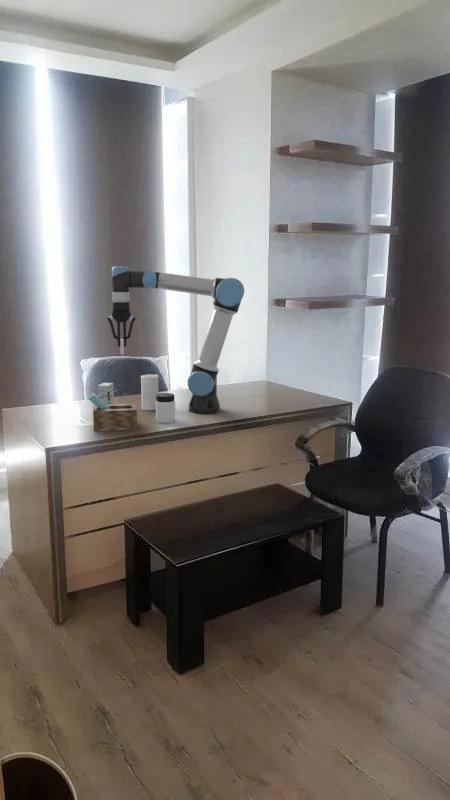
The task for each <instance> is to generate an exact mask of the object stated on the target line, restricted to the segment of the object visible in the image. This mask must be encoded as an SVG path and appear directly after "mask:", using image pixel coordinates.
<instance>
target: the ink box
mask: <svg viewBox="0 0 450 800" xmlns="http://www.w3.org/2000/svg"><path fill="white" fill-rule="evenodd" d="M97 391H98V392H97V393H98V394H97V396H98V397H99V398H100V399H101V400H102V401H103V402H104V403H105V404H106V405H108V404H115V397H114V396H115V395H114V393H115V391H114V383H113V382H102V383H100V384H98V385H97Z"/></svg>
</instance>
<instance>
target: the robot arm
mask: <svg viewBox="0 0 450 800" xmlns="http://www.w3.org/2000/svg"><path fill="white" fill-rule="evenodd" d="M111 288H112V290H111V291H112V292H111V295H112V296H111V297H112V298H111V299H112V301H113V302H112V312H111V315H110V316H108V317H106V319H107V321H108V323H109V326H110V328H111V329H110V330H111V333H112V336H113V337H112V338H114V339H116V340H117V347H118V348H119V350H120V355H124V354H125V347H127V340H128V339H130V338H131V334H132V330H133V326H134V322H135V321H136V317H135V316H133V315H132V314H131V311H130V306H131V305H130V304H131V303H130V302H129V301H130V289H147V290H148V289H149V290H150V289H156V290H157V289H158V290H166V291H172V292H178V293H186V294H193V295H200V296H205V297H206V296H208V297H212V300H213V301H212V307H213V309H214V310H213V313H212V316H211V319H210V323H209V324H208V326H209V327H208V329H207V332H206V335H205V339H204V342H203V345H202V348H201V351H200V354H199V357H198V359H197V360H196V361H194V362H193V364H192V367H191V372H190V375H189V376H188V379H187V387H188V389H189V392H191V393H192V395H191V398H190V400H189V404H188V411H189V412H192V413H196V414H213V413H218V412H220V411H221V404H220V400H219V398H218V393H217V392H218V391H217V390H218V389H217V388H218V387H217V386H218V383H217V382H218V380H217V379H218V375H219V368H218V363H219V360H220V357H221V354H222V350H223V348H224V344H225V340H226V338H227V334H228V331H229V329H230V325H231V322H232V319H233V317H234V315H235V314H237V313H238V312H239V309H240V305H241V302H242V299H243V298H244V295H245V287H244V284H243V283H242V281H240V280H239V279H237V278H236V277H235V278H234V277H227V278H221V277H215V278H214V279H212V278H204V277H195V276H187V275H182V274H175V273H174V274H173V273H167V272H157V271H153V270H136V271H135V270H134V271H133V270H130V269H129V266H126V265H125V266H123V265H122V266H120V265H119V266H117V265H115V266H113V267H112V268H111ZM113 319H114V320H115V322H116V324H117V325H116V327H117V329H116V330H115V328H114V327H115V326H114V323H113ZM128 320H130V323H129V327H128V330H127V322H128ZM121 323H122V335H123V336H122V338H121ZM116 331H117V332H116ZM116 333H117V334H116Z"/></svg>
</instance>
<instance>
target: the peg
mask: <svg viewBox="0 0 450 800" xmlns="http://www.w3.org/2000/svg"><path fill="white" fill-rule="evenodd" d="M88 400H89V401H90V402H91V403H92V405H95V406H96V407H98V408H99V409H111V408H109V407H108V406H107V405H106V404H105V403H104V402H103V401H102V400H101V399H100V398H99V397H98V395H97V394H96V393H92V394H91V395H90V396H89V397H88Z"/></svg>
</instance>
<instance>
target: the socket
mask: <svg viewBox="0 0 450 800" xmlns="http://www.w3.org/2000/svg"><path fill="white" fill-rule="evenodd" d="M107 406H108V407H109V408H111V409H99V408H98V407H96V406H95V405H94V404H92V410H93V411H92V414H93V415H92V417H93V420H92V421H93V432H106V431H107V432H108V431H130V430H132V431H133V430H138V410H137V405H136V403H121V404H120V403H114V404H108V405H107Z"/></svg>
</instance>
